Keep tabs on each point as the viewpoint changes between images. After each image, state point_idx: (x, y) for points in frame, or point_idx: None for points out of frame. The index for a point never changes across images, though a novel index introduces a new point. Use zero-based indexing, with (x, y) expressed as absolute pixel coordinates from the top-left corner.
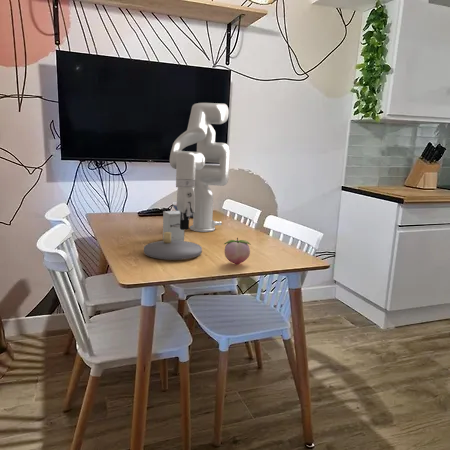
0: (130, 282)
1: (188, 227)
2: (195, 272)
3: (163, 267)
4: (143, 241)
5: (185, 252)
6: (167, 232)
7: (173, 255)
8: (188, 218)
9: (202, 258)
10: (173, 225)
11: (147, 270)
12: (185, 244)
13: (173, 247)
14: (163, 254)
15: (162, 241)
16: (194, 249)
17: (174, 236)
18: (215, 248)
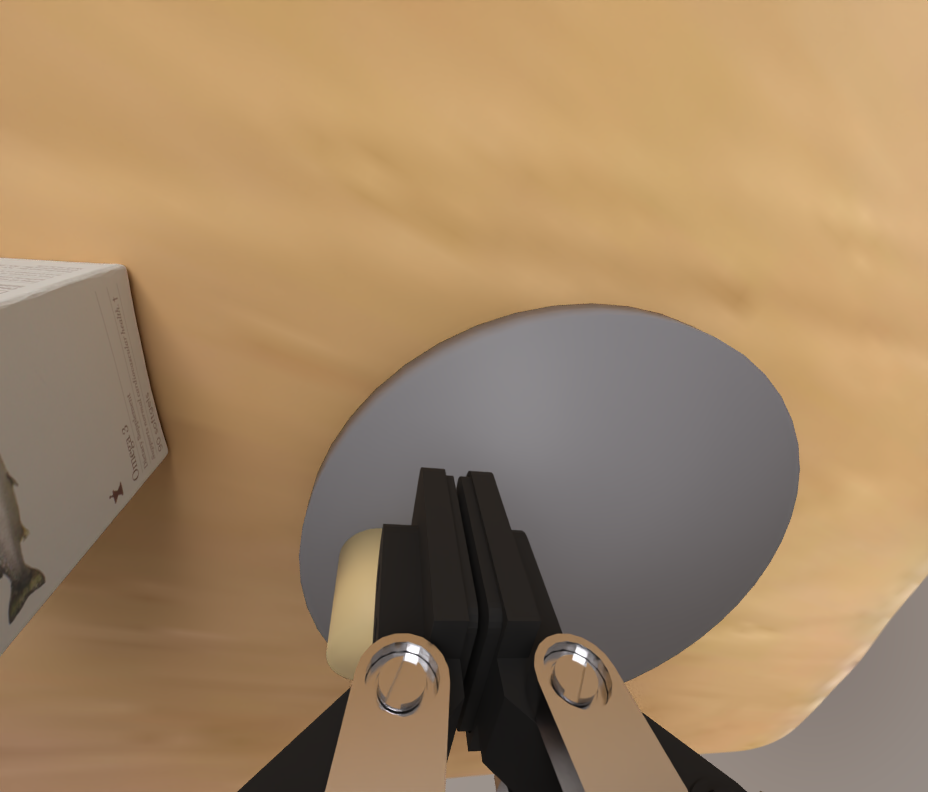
0: (785, 731)
1: (497, 494)
2: (916, 519)
3: (737, 622)
4: (57, 620)
5: (737, 522)
6: (359, 650)
7: (735, 603)
8: (616, 697)
9: (775, 372)
10: (3, 561)
11: (720, 679)
12: (525, 437)
13: (562, 556)
14: (675, 643)
15: (322, 583)
16: (720, 429)
17: (117, 427)
18: (604, 23)
